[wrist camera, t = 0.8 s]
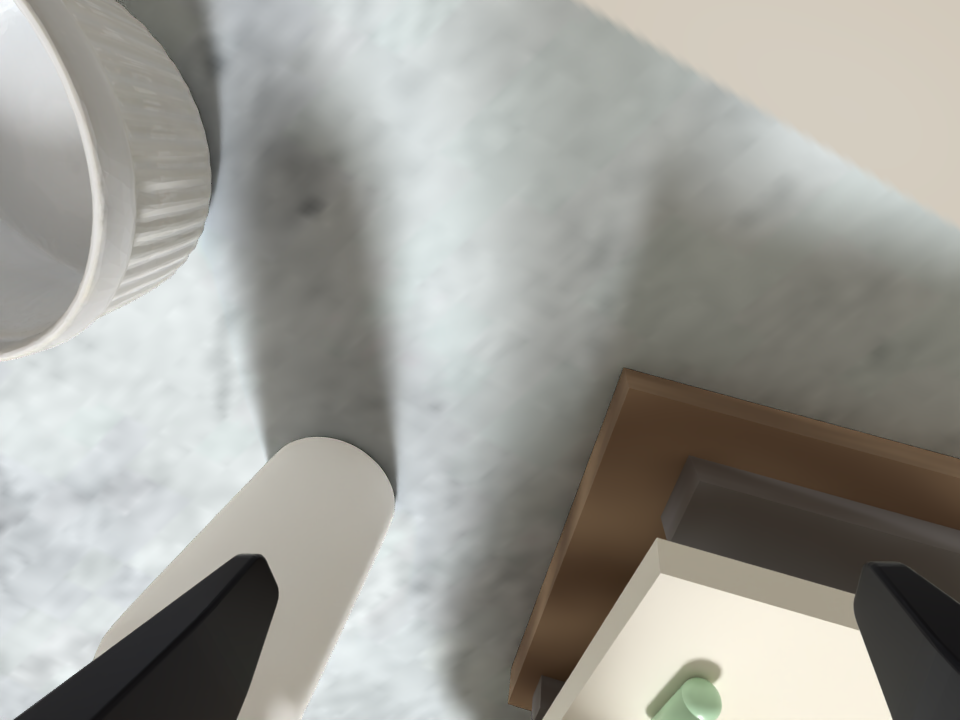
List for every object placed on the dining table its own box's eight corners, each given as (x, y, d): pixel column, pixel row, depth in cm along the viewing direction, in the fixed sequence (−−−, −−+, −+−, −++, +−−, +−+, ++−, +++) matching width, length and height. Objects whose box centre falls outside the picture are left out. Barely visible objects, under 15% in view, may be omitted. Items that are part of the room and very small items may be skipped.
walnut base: (847, 769, 27) (888, 857, 24) (511, 667, 28) (504, 739, 25) (1077, 491, 20) (1182, 559, 17) (623, 367, 21) (635, 408, 18)
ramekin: (-111, 135, 22) (-383, 126, 16) (28, -151, 18) (-274, -324, 11) (134, 363, 25) (-17, 436, 18) (311, 163, 20) (194, 167, 14)
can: (315, 405, 24) (104, 621, 13) (425, 492, 25) (314, 764, 14) (247, 489, 26) (17, 732, 15) (349, 565, 27) (203, 848, 16)
